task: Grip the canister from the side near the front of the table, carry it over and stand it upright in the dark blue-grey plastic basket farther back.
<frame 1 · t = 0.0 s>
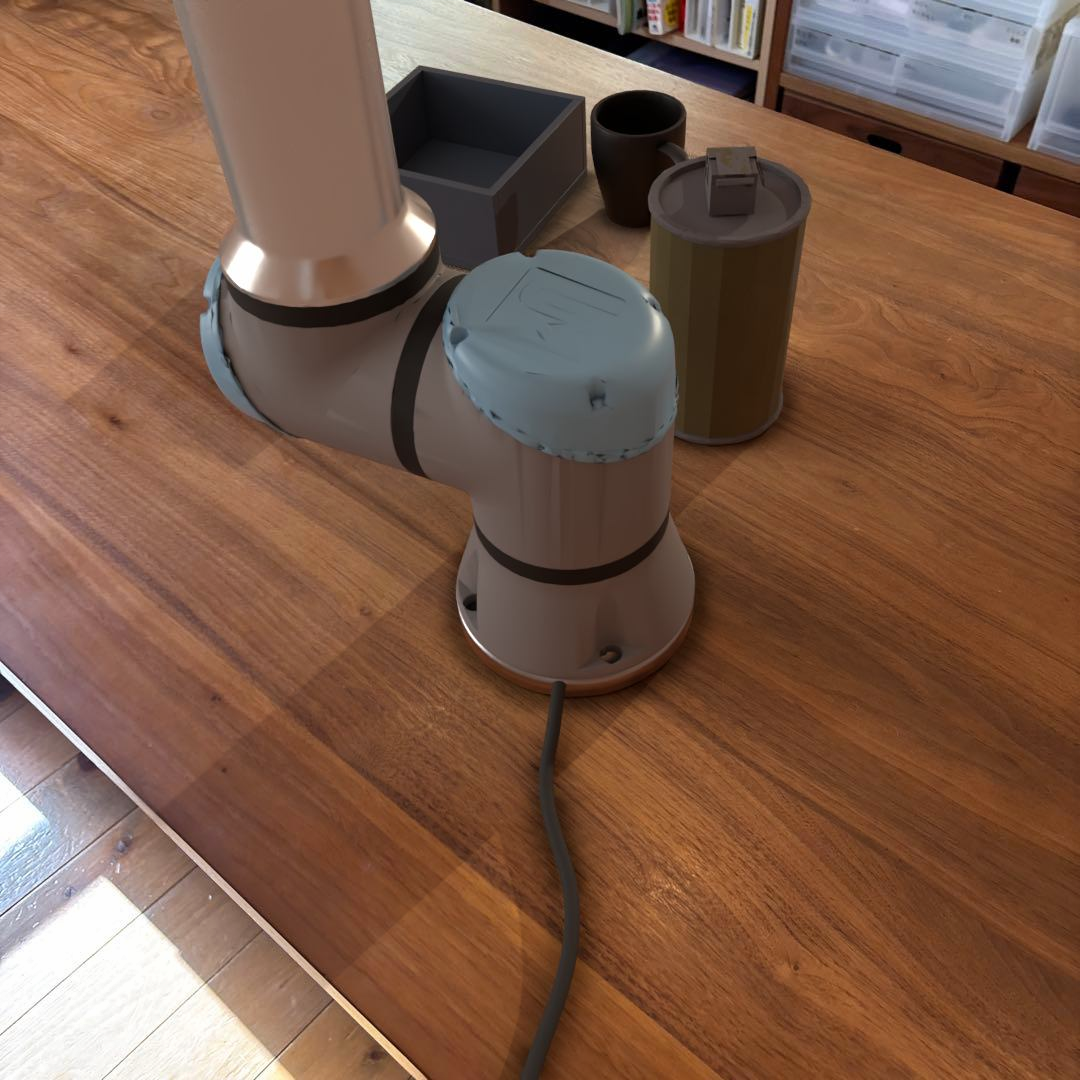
canister: (712, 398, 85), on the table
basket: (462, 205, 104), on the table
mug: (646, 222, 101), on the table
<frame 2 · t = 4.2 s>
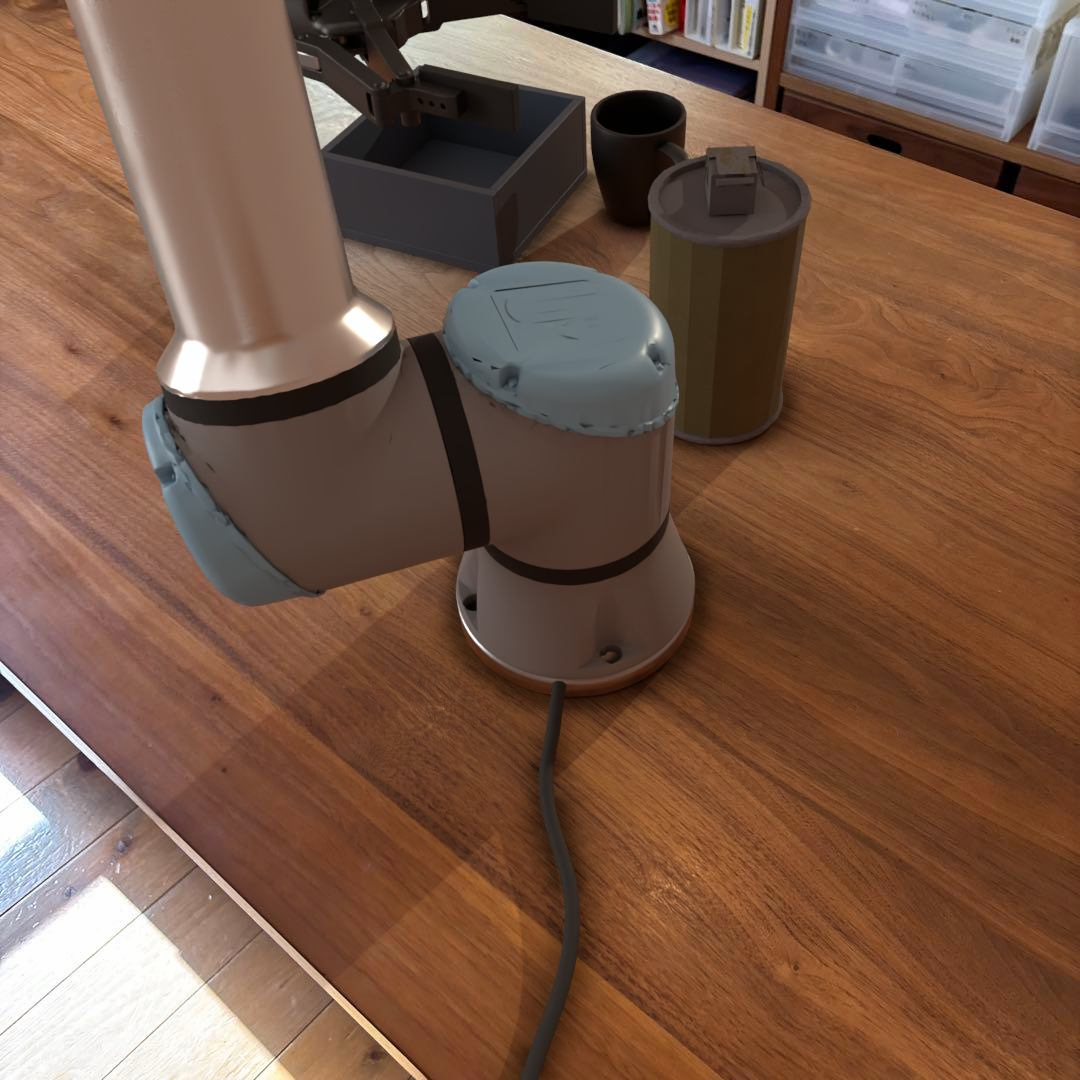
hand: (569, 58, 70), 24 cm above the table, tool horizontal, fingers open, 13 cm apart
nothing on the table moved.
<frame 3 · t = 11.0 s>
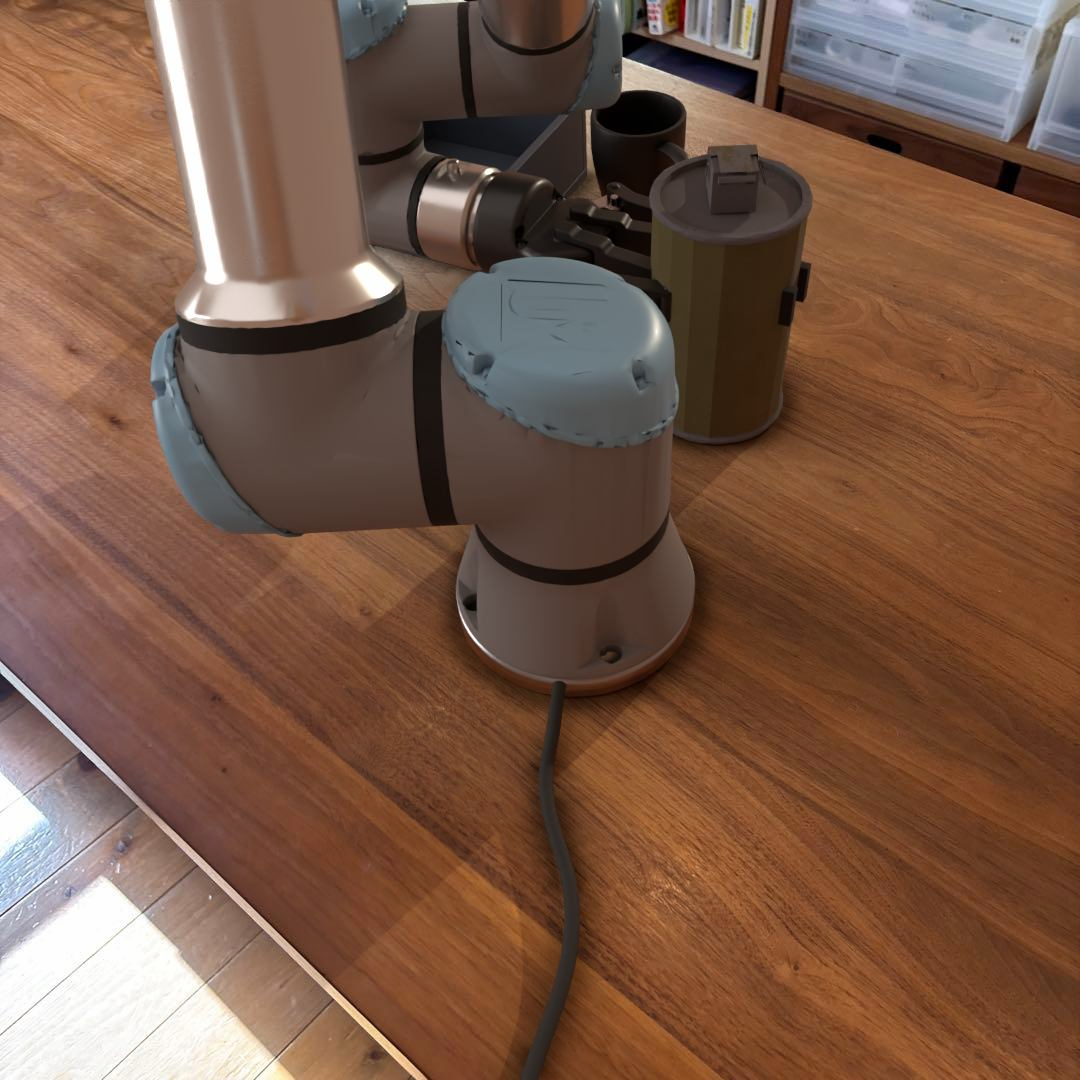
hand: (799, 295, 74), 11 cm above the table, tool horizontal, fingers closed on canister, 2 cm apart
canister: (712, 398, 85), on the table, touching gripper
everything else where it was.
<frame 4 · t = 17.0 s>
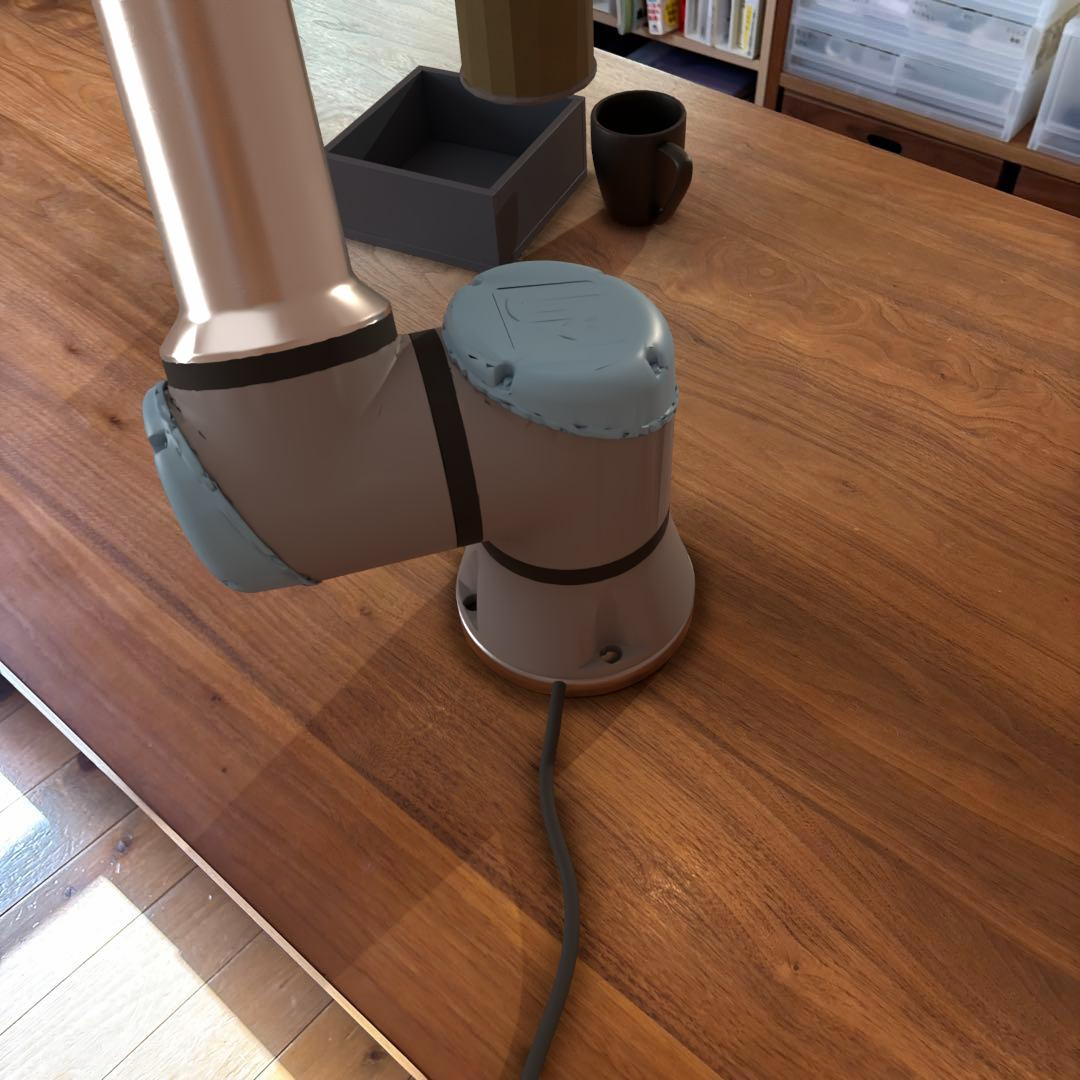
canister: (528, 73, 84), point 17 cm above the table, touching gripper
everything else where it was.
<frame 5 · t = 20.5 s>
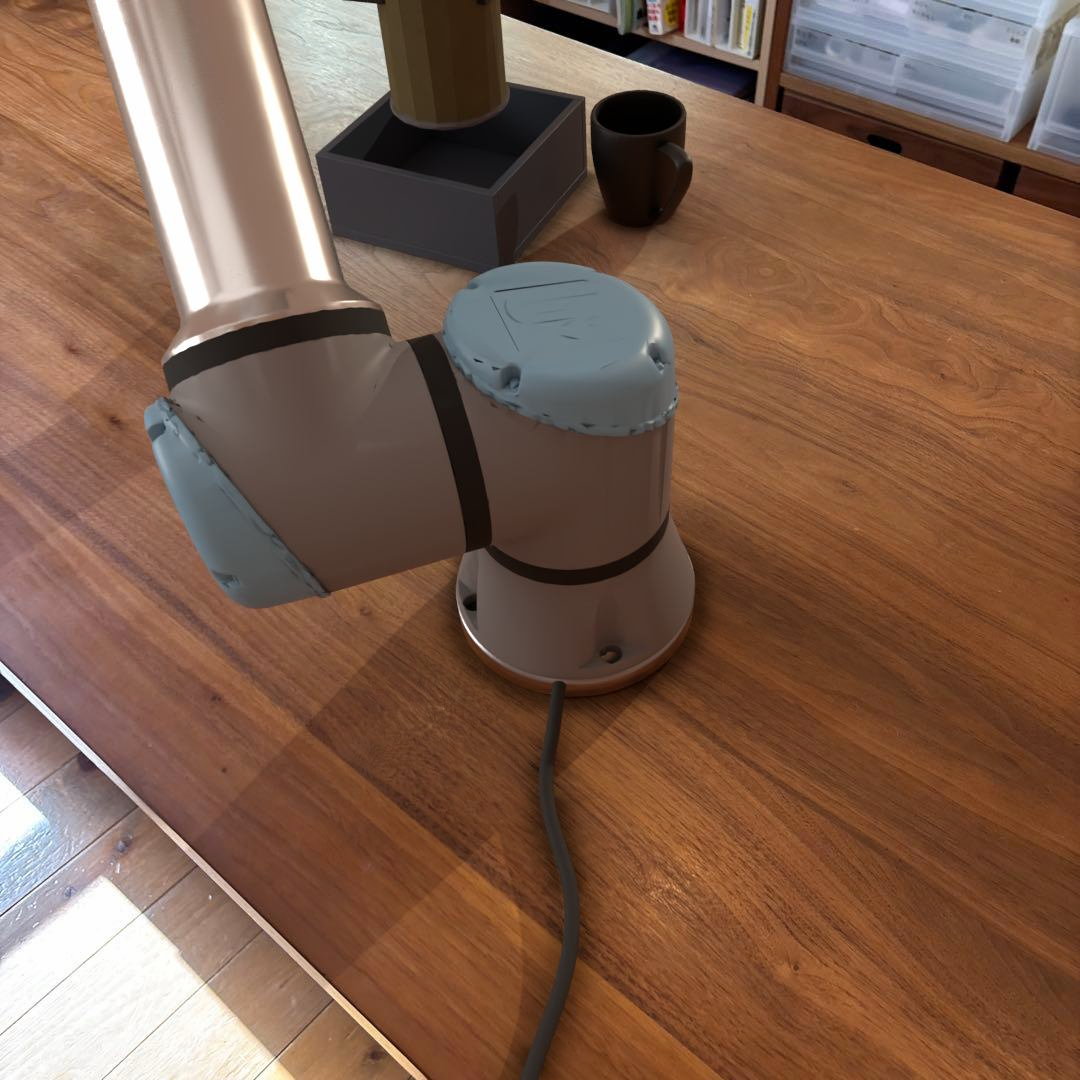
canister: (450, 101, 97), point 10 cm above the table, touching gripper
everything else where it was.
when the fingers open (12 cm above the table, at t = 23.1 s): canister stays where it is, resting on basket.
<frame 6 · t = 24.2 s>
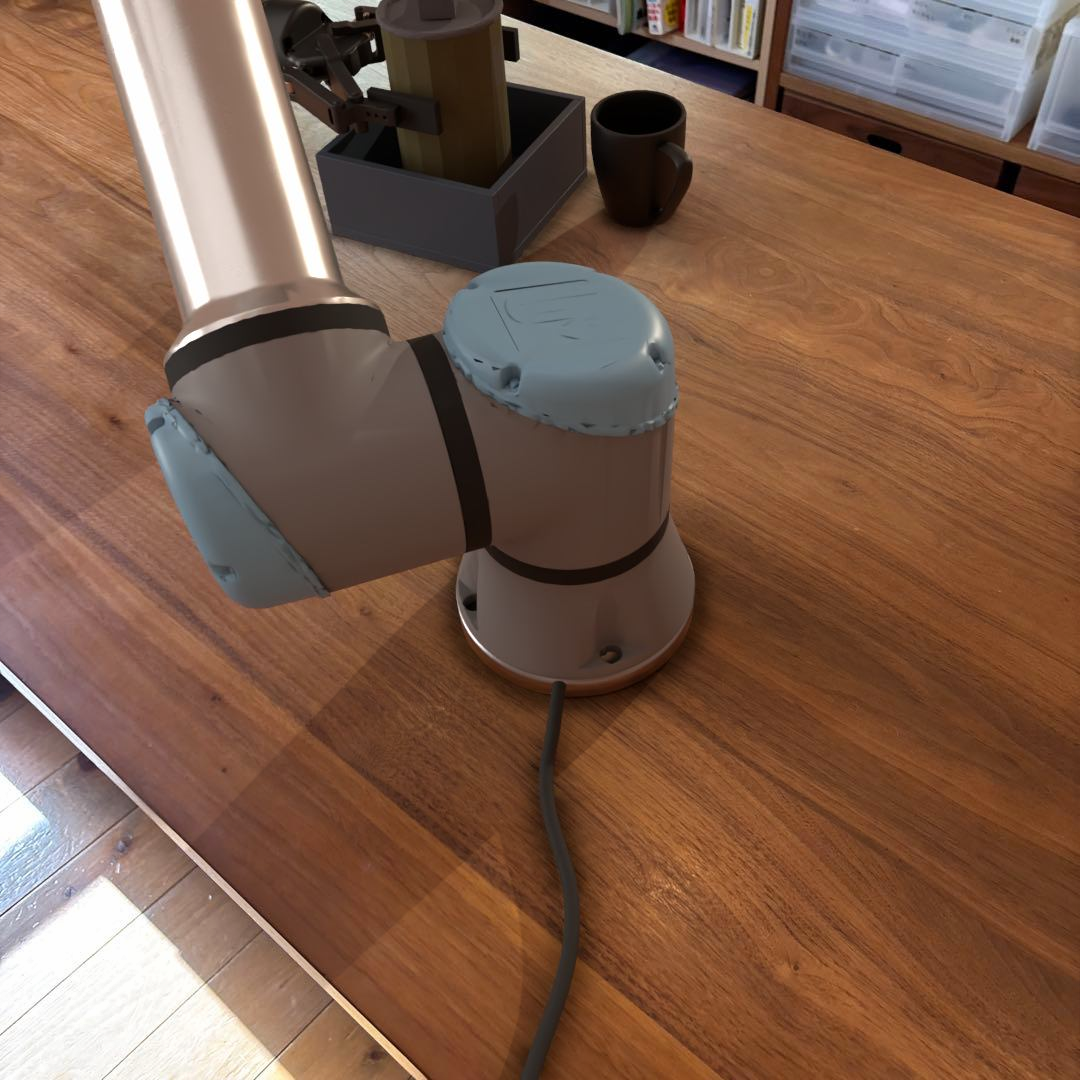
hand: (480, 80, 93), 13 cm above the table, tool horizontal, fingers open, 13 cm apart
canister: (462, 196, 103), point 1 cm above the table, touching basket
everything else where it was.
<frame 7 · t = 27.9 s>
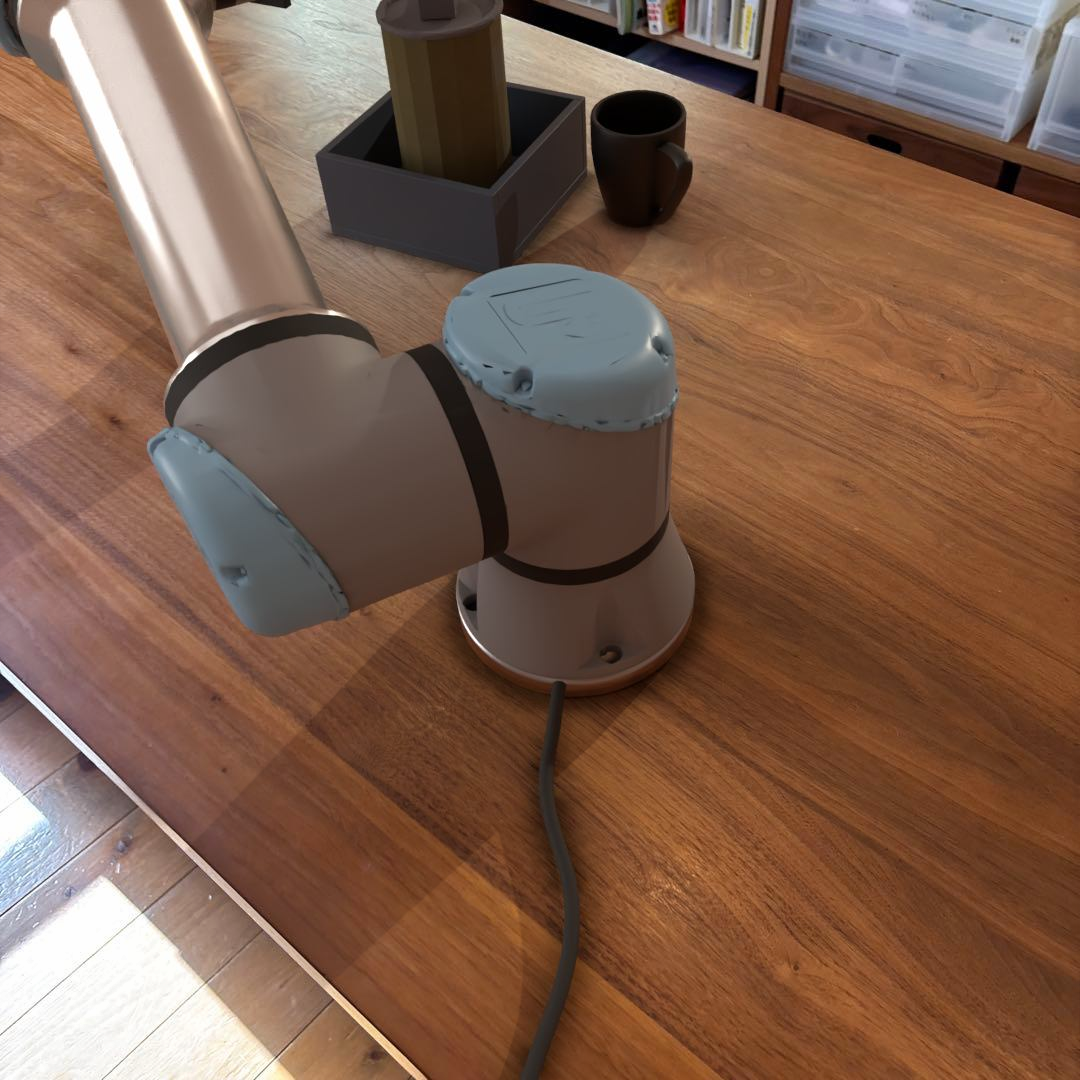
nothing on the table moved.
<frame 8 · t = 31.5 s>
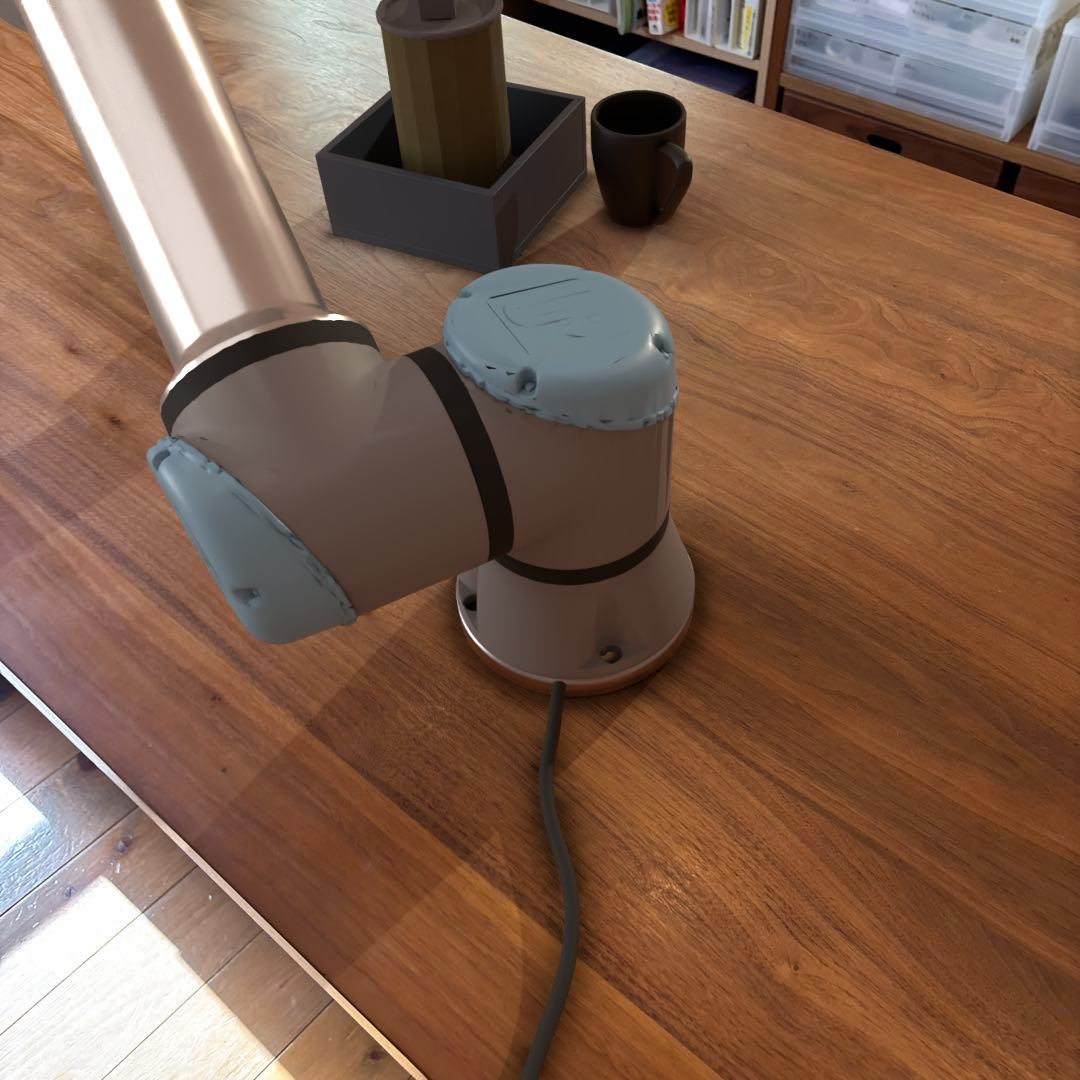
nothing on the table moved.
at the end: canister inside the target area in the basket (0.2 cm from its centre), point 0.8 cm above the basket's base; canister tilted 0°; the gripper is holding nothing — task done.
